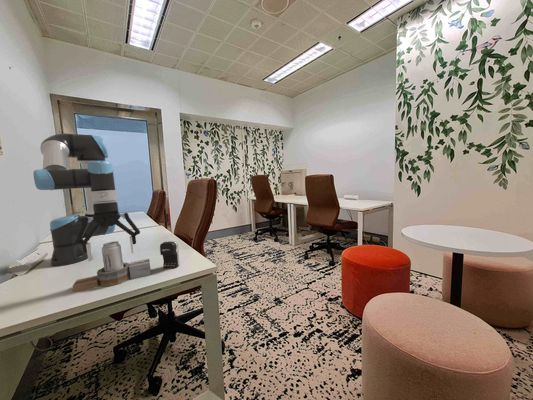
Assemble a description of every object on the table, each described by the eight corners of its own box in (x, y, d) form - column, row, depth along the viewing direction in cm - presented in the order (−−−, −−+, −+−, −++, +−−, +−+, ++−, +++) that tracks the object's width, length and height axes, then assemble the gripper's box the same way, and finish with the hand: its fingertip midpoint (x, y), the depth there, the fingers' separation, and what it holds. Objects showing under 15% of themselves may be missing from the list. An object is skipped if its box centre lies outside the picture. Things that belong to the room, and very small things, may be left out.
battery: (160, 269, 94) (157, 243, 93) (166, 265, 97) (163, 240, 96) (175, 269, 93) (172, 243, 91) (180, 265, 96) (177, 240, 95)
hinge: (79, 283, 84) (77, 270, 84) (150, 267, 96) (149, 256, 95) (71, 295, 75) (69, 281, 75) (150, 276, 87) (149, 263, 86)
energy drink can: (102, 283, 83) (96, 245, 82) (115, 276, 89) (111, 240, 88) (115, 283, 82) (110, 245, 81) (128, 276, 88) (123, 240, 87)
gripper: (58, 206, 73) (67, 267, 75) (142, 199, 85) (148, 251, 87) (65, 205, 80) (73, 260, 82) (142, 198, 92) (148, 247, 94)
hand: (112, 256), depth 85 cm, fingers open, 13 cm apart
